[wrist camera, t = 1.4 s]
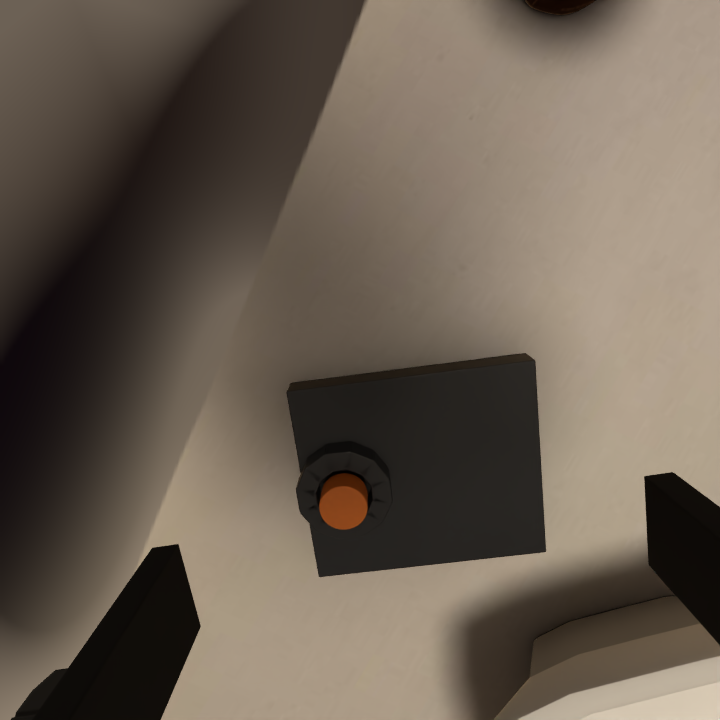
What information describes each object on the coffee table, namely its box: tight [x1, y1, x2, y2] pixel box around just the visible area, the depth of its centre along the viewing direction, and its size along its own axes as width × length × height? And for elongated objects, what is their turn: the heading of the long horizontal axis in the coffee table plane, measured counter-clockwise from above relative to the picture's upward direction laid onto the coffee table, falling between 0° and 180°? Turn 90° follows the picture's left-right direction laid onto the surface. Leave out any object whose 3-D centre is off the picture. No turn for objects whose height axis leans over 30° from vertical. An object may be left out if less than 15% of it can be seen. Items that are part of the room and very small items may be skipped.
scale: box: [287, 353, 546, 577], centre depth 32 cm, size 15×13×4 cm
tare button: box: [319, 473, 368, 530], centre depth 30 cm, size 3×3×2 cm
